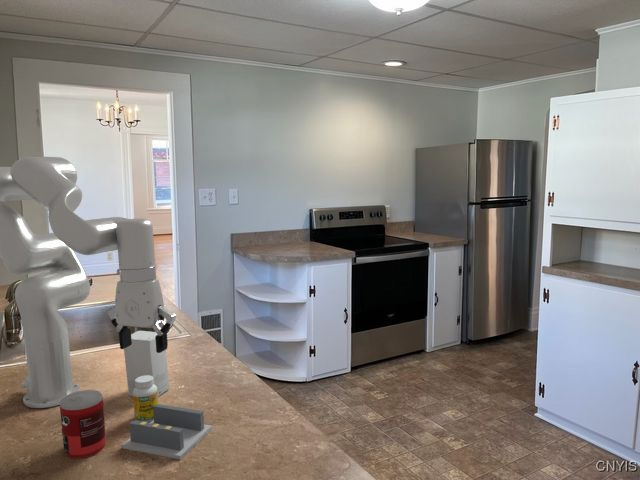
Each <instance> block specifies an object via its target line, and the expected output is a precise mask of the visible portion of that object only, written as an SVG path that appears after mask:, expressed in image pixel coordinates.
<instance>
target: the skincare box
mask: <svg viewBox="0 0 640 480" xmlns="http://www.w3.org/2000/svg"><path fill="white" fill-rule="evenodd" d="M156 335H158V334H157V333H156V332H155V331H147V330H137V331H135V332H133V333H131V340H132V345H130V346H128V347H126V348H124V349H123V353H124V363H125V371H126V380H127V382H126V383H127V392H128V396H129V397H133V390H134V388H135V387H136V386H135V379H136V378H138V377H140V376H145V375H150V376H153V379H154V383H153V384H154V385H156V386H157V391H158V398H159V397H160V396H161V395H163V394H165V392H167V391H168V390H170V382H169V371H168V361H167V360H168V359H167V349H166V350H164V351H162V352H161V353H157V352H156V340H155V336H156Z"/></svg>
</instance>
